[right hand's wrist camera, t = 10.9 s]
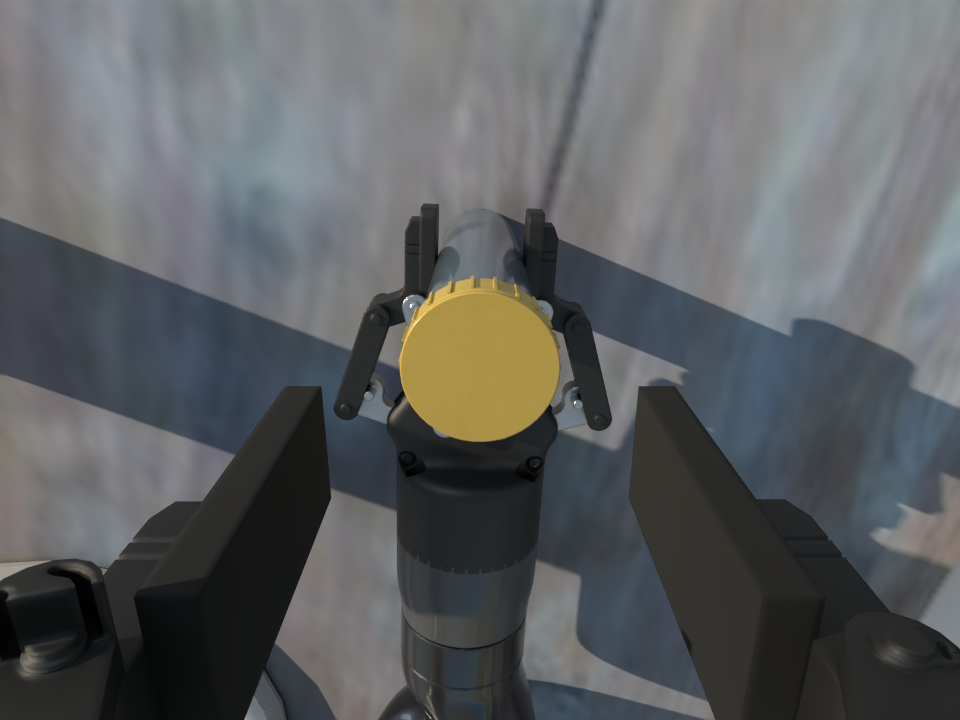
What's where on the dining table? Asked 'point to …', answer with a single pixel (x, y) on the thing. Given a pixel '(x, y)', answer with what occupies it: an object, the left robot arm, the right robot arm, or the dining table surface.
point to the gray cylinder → (480, 252)
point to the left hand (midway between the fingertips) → (482, 210)
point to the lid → (480, 360)
